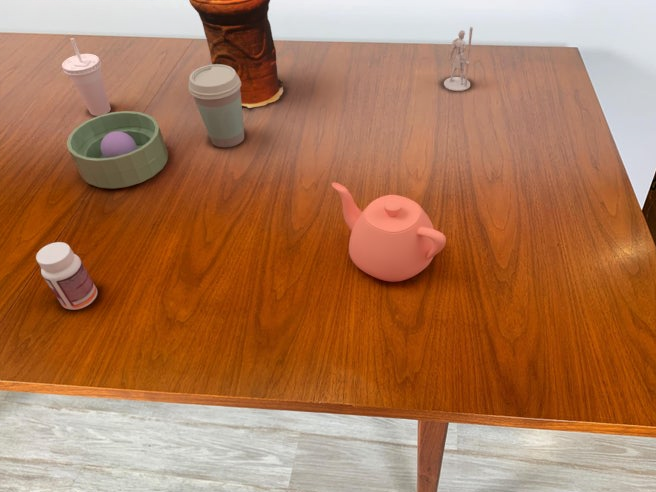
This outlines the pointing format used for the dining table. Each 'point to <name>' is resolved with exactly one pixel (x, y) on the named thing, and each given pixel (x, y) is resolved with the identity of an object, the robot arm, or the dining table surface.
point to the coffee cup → (219, 103)
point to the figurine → (459, 64)
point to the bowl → (124, 167)
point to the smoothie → (88, 80)
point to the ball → (117, 144)
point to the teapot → (390, 236)
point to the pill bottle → (66, 276)
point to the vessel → (243, 45)
